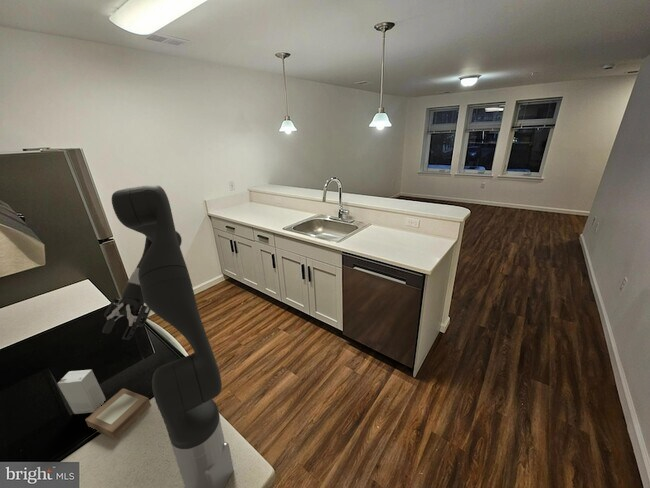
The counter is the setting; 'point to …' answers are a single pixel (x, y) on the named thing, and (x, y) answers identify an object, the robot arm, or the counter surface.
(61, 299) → the counter surface
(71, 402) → the skincare box
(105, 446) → the counter surface
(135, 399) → the walnut plinth
